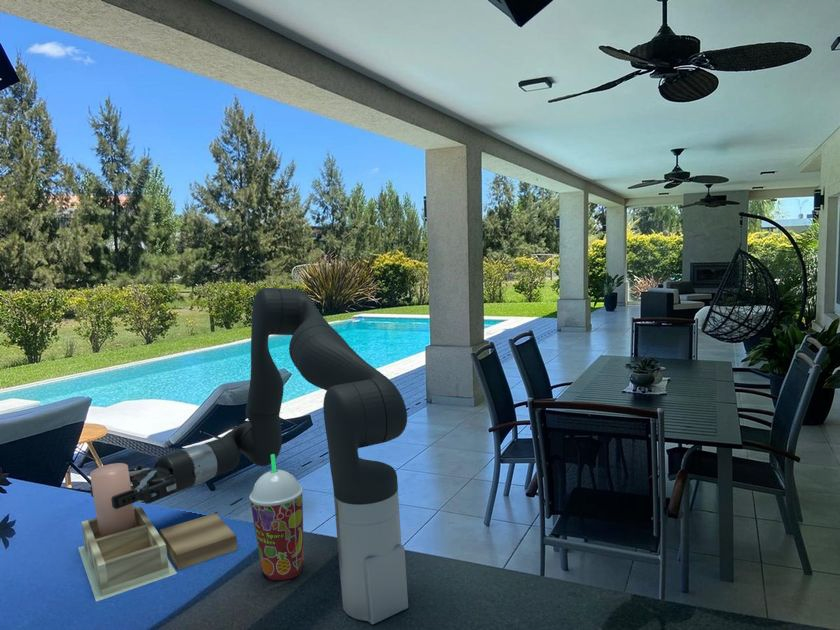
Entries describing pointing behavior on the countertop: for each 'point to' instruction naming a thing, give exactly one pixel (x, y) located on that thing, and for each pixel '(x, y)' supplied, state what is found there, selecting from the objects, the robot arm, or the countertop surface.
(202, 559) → the board
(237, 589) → the countertop surface
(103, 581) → the caddy
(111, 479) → the pink cylinder
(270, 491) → the smoothie
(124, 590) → the mat
